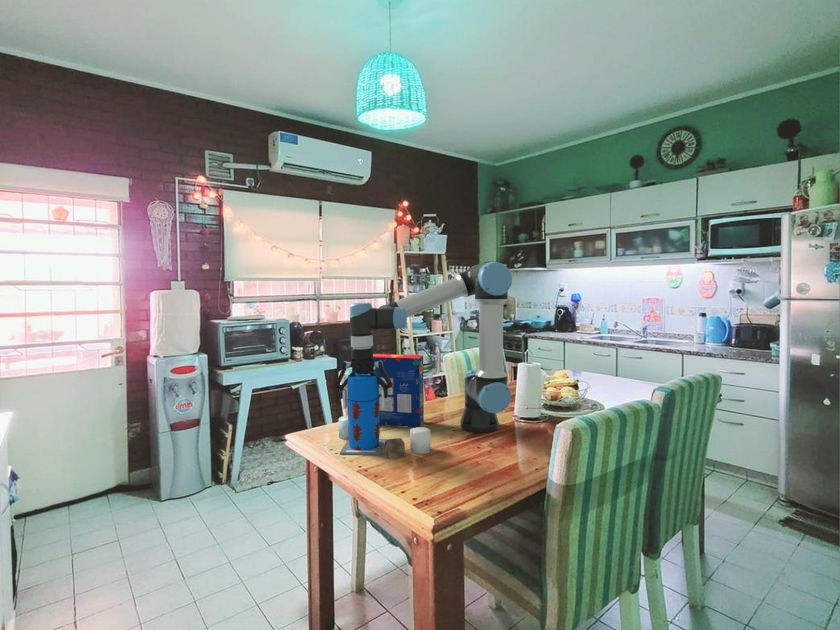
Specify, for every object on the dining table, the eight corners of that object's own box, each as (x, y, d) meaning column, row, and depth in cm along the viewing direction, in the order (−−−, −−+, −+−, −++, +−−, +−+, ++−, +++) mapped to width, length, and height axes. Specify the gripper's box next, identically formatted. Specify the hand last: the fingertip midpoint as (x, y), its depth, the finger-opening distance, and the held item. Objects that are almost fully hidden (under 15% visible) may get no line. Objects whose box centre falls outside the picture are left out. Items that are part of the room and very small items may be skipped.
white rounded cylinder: (430, 446, 160) (430, 427, 160) (430, 454, 153) (429, 434, 153) (411, 446, 161) (410, 427, 160) (409, 454, 154) (409, 433, 153)
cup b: (359, 433, 175) (359, 415, 174) (355, 439, 168) (355, 421, 168) (341, 433, 175) (341, 415, 175) (337, 439, 168) (336, 421, 168)
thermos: (370, 452, 154) (369, 379, 152) (343, 448, 157) (341, 377, 155) (384, 441, 164) (383, 373, 162) (358, 438, 168) (357, 371, 165)
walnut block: (401, 452, 156) (400, 437, 155) (404, 457, 151) (404, 442, 150) (386, 453, 154) (386, 439, 154) (389, 459, 149) (389, 444, 149)
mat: (386, 440, 167) (386, 438, 167) (380, 455, 153) (380, 453, 153) (348, 439, 168) (348, 438, 168) (339, 454, 154) (339, 452, 154)
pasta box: (423, 421, 189) (423, 355, 187) (419, 427, 181) (418, 358, 179) (359, 418, 195) (358, 353, 193) (353, 423, 187) (351, 356, 185)
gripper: (399, 345, 161) (400, 404, 162) (329, 346, 162) (332, 404, 164) (396, 348, 153) (398, 410, 155) (323, 349, 155) (326, 410, 156)
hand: (364, 407), depth 159 cm, fingers open, 13 cm apart
